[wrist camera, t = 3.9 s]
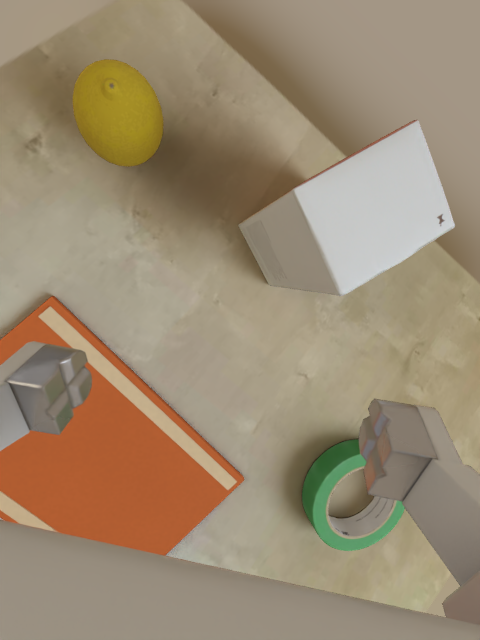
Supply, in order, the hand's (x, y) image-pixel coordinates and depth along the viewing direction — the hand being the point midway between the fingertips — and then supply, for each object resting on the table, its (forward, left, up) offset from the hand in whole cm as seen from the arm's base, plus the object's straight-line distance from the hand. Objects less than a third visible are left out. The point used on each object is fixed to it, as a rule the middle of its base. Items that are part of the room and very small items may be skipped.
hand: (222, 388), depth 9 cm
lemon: (-13, +6, -20) cm, 24 cm away
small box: (+1, +12, -20) cm, 23 cm away
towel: (+4, -15, -20) cm, 25 cm away
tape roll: (+26, 0, -20) cm, 33 cm away
